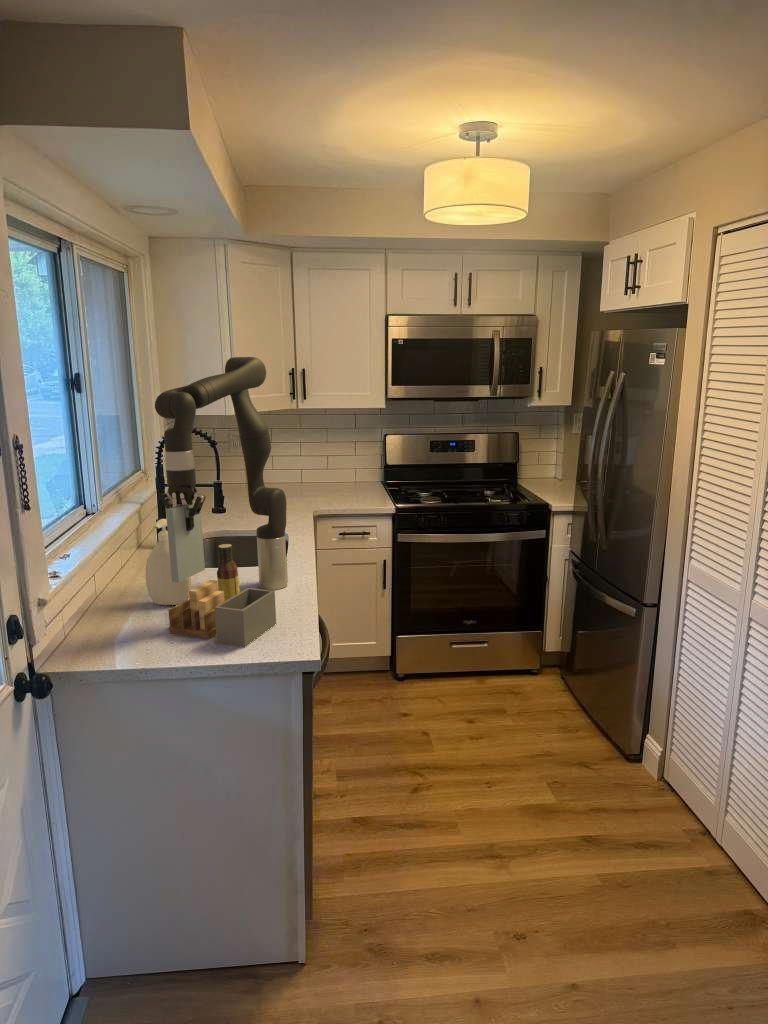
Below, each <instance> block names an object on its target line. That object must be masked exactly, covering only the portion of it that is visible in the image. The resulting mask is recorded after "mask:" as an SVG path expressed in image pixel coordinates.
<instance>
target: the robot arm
mask: <svg viewBox="0 0 768 1024" xmlns="http://www.w3.org/2000/svg"><path fill="white" fill-rule="evenodd" d="M266 369H267V368H266V365H265V363H264V362H263V360H261V359H260V358H259V357H258V358H257V357H254V356H234V357H229V358H228V359H227V361H226V363H225V366H224V373H220V374H215V375H210V376H207V377H204V378H201V379H198V380H196V381H194V382H192V383H190V384H187V385H184V386H180V387H179V386H178V387H176V388H172V389H168V390H165V391H163V392H161V393H160V394H159V395H158V396H157V397H156V399H155V402H154V409H155V411H156V413H157V415H159V416H160V417H162V418H164V419H170V420H173V419H174V424H173V427H170V428H168V429H166V430H165V431H164V432H163V433H164V434H163V439H164V449H165V450H164V453H165V454H164V456H165V457H164V462H165V464H164V465H165V475H166V484H167V486H168V488H167V492H165V493H161V494H160V495H159V496H160V500H161V501H162V503H163V505H164V507H165V510H166V509H168V508H172V507H175V506H178V505H181V504H182V506H183V509H184V510H185V516H186V518H185V519H186V530H187V531H190V530H193V528H194V515H197V514H199V513H200V511H201V510H202V508H203V505H204V503H205V502H206V501H205V500H206V498H207V497H206V495H205V494H200V493H199V492H198V490H197V488H196V483H197V477H196V476H197V475H196V463H195V456H194V450H193V438H192V434H193V429H194V423H195V419H196V412H197V410H198V409H202V408H205V407H206V406H209V405H210V404H212V403H214V402H217V401H219V400H221V399H223V398H225V397H228V396H230V399H231V402H232V406H233V410H234V414H235V420H236V423H237V428H238V436H239V440H240V446H241V451H242V455H243V461H244V465H245V466H244V467H245V473H246V483H247V494H248V495H247V496H248V504H249V507H250V510H251V511H252V513H254V514H255V515H258V516H265V517H266V516H267V517H268V521H267V523H265V524H263V525H261V526H257V528H256V546H257V563H258V564H257V565H258V566H257V567H258V585H259V588H260V589H262V590H271V591H275V590H280V589H283V588H286V587H287V586H288V583H289V580H288V579H289V576H288V557H287V551H286V549H287V548H286V547H287V546H286V528H287V496H286V494H285V492H284V490H283V489H281V488H278V487H268V486H267V487H266V485H265V482H264V469H265V467H266V464H267V461H268V459H269V457H270V454H271V451H272V441H271V436H270V435H271V434H270V431H269V427H268V425H267V423H266V421H265V420H264V418H263V417H262V415H261V414H260V413H259V411H258V410H257V408H256V406H254V404H253V402H252V400H251V397H250V393H249V389H255V388H259V387H260V386H262V385H263V384H264V382H265V380H266V378H267V370H266ZM194 501H195V503H194ZM188 504H189V505H188ZM201 512H202V511H201Z"/></svg>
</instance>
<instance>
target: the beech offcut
mask: <svg viewBox="0 0 768 1024" xmlns="http://www.w3.org/2000/svg"><path fill="white" fill-rule="evenodd" d="M224 601H225V599H224V591H216V592H214V593H212V594H210V595H208V596H207V597H205V598H203V599H201V600H199V601H198V605H199V619H200V629H204V630H205V623H204V614H206V613H207V612H209V611H211V610H213V609H214V607H216V606H218V605H219V604H221V603H223V602H224Z"/></svg>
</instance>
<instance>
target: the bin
mask: <svg viewBox="0 0 768 1024" xmlns="http://www.w3.org/2000/svg"><path fill="white" fill-rule="evenodd" d="M214 609H215V623H216V636H215V637H216V643H217V644H219V645H220V644H221V645H227V646H233V647H234V646H235V647H240V646H241V647H242V648H246V647H248V646H249V645H250V644H251V643H250V642H252V641H253V640H254V639H256V638H257V637H259V636H260V635H261V634H263V633H264V632H265V631H267V630H268V629H269V630H271V629H272V628H274V627H275V626H276V625H277V610H276V609H277V608H276V591H275V590H266V589H262V588H260V589H259V588H253V587H252V588H251V587H247V588H245V589H243V590H242V591H240V593H238V594H237V595H235V596H233V597H231V598H230V599H228V600H226V601H224V602H223V603H221V604H219V605H218V606H216V607H214ZM275 624H276V625H275ZM274 625H275V626H274ZM273 626H274V627H273ZM271 627H272V628H271ZM270 628H271V629H270ZM269 630H268V631H269ZM268 631H267V632H268ZM265 633H266V632H265ZM265 633H264V634H265ZM264 634H263V635H264ZM261 636H262V635H261ZM261 636H260V637H261ZM260 637H259V638H260ZM257 639H258V638H257ZM257 639H256V640H257ZM254 641H255V640H254ZM254 641H253V642H254ZM253 642H252V643H253ZM249 643H250V644H249ZM248 644H249V645H248ZM247 645H248V646H247ZM245 646H246V647H245Z"/></svg>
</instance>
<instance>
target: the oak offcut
mask: <svg viewBox="0 0 768 1024" xmlns="http://www.w3.org/2000/svg"><path fill="white" fill-rule="evenodd" d="M216 591H218V581H217V580H215V579H209V580H207V581H206V582H203V583H201V584H200V585H197V586H196V587H193V588H191V590H190V591H189V595H190V596H189V599H190V608H191V621H192V613H193V612H194V611H196V610H198V609H199V605H198V601H199V600H201V599H203V598H205V597H207V596H208V595H210V594H212V593H214V592H216ZM192 625H193V621H192Z"/></svg>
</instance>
